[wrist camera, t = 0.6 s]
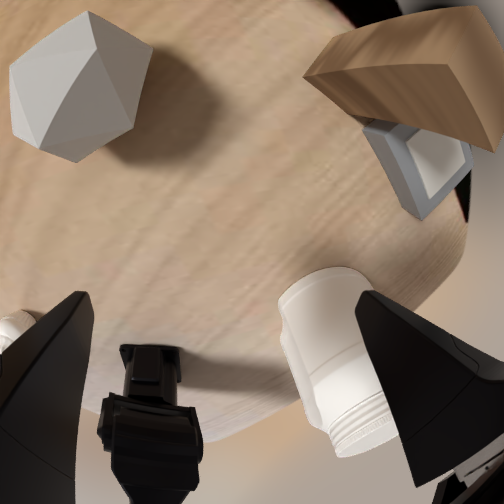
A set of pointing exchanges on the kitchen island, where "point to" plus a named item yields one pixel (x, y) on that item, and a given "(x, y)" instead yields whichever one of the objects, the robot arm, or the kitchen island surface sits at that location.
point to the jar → (334, 360)
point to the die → (78, 87)
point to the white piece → (14, 327)
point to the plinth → (419, 163)
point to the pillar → (420, 74)
